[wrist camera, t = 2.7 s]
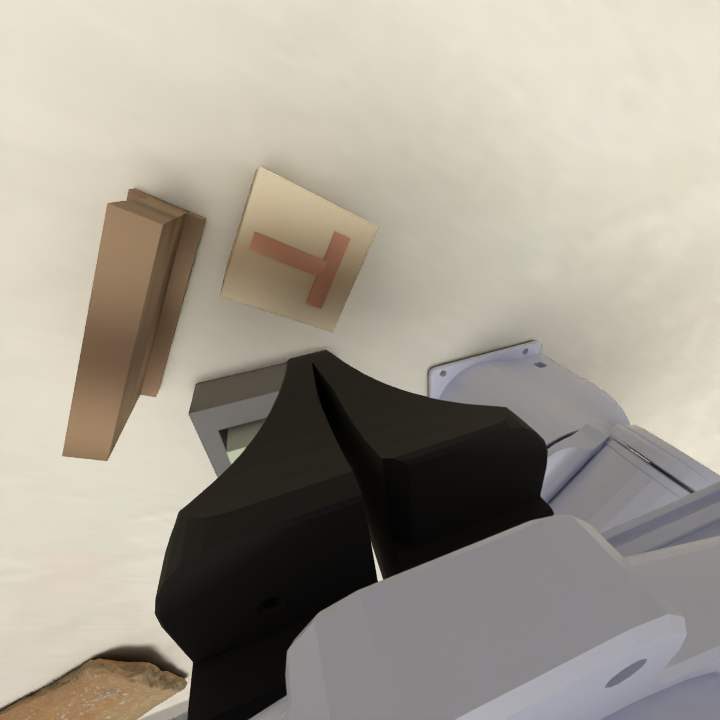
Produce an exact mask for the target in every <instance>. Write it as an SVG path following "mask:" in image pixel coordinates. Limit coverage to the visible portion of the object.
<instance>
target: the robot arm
mask: <svg viewBox="0 0 720 720" xmlns="http://www.w3.org/2000/svg"><path fill="white" fill-rule="evenodd" d="M523 350H524V351H523ZM540 352H541V343H539V342H537V341H532V342H528V343H524V344H521V345H517V346H513V347H509V348H506V349H502V350H498V351H494V352H490V353H487V354H483V355H479V356H475V357H471V358H468V359H464V360H460V361H456V362H452V363H449V364H445V365H441V366H437V367H434V368H432V369H431V370H430V372H429V397H426V396H422V395H418V394H414V393H410V392H407V391H404V390H401V389H398V388H395V387H392V386H390V385H387V384H384V383H382V382H380V381H377V380H375V379H373V378H371V377H369V376H367V375H365V374H363V373H361V372H360V371H358V370H356V369H354V368H353V367H351V366H350V365H348V364H346V363H345V362H343V361H342V360H340V359H339V358H337V357H336V356H335V355H333V354H332V353H330V352H329V351H327V350H324V351H320V352H316V353H312V354H307V355H303V356H299V357H295V358H291V359H289V360H288V362H287V366H286V372H285V376H284V379H283V382H282V385H281V388H280V391H279V393H278V396H277V398H276V400H275V402H274V404H273V406H272V409H271V411H270V413H269V414H268V416H267V418H266V420H265V421H264V423H263V425H262V426H261V428H260V429H259V431H258V432H257V434H256V435H255V437H254V438H253V439H252V441H251V442H250V443H249V445H248V446H247V447H246V448H245V450H244V451H243V452H242V453H241V454H240V456H239V457H238V458H237V459H236V460H235V461H234V462H233V463H232V464H231V465H230V466H229V467H228V468H227V469H226V470H225V471H224V472H223V473H222V474H221V475H220V476H219V477H218V478H217V479H216V480H215V481H214V482H213V483H212V484H211V485H210V486H209V487H207V488H206V489H205V490H204V491H203V492H202V493H200V494H199V495H198V496H197V497H196V498H195V499H194V500H192V501H191V502H190V503H189V504H188V505H187V506H185V507H184V508H183V509H182V510H180V511H179V513H178V516H177V519H176V522H175V525H174V528H173V531H172V533H171V536H170V539H169V542H168V546H167V549H166V552H165V557H164V561H163V566H162V571H161V575H160V580H159V585H158V590H157V594H156V600H155V615H156V617H157V619H158V621H159V623H160V625H161V626H162V628H163V629H164V630H165V631H166V632H167V633H168V634H169V636H170V637H171V638H172V639H173V640H174V641H175V642H176V643H177V645H178V646H179V647H180V648H181V649H182V650H183V651H184V653H185V654H186V655H187V656H188V657H189V658H190V659H191V660H192V662H193V669H192V678H191V688H190V697H189V707H188V711H187V712H185V713H183V714H180V715H178V716H176V717H173V718H171V719H169V720H720V475H718V474H716V473H715V472H713V471H712V470H710V469H709V468H707V467H705V466H704V465H702V464H701V463H699V462H698V461H696V460H694V459H693V458H691V457H690V456H688V455H686V454H685V453H683V452H681V451H680V450H678V449H677V448H675V447H673V446H672V445H670V444H668V443H667V442H665V441H663V440H662V439H660V438H658V437H657V436H655V435H653V434H652V433H650V432H648V431H646V430H645V429H643V428H641V427H639V426H637V425H630V423H629V420H628V418H627V416H626V414H625V413H624V411H623V410H622V408H621V407H620V406H619V404H618V403H617V402H616V401H615V400H614V399H613V398H612V397H611V396H610V395H609V394H608V393H606V392H605V391H604V390H602V389H600V388H599V387H597V386H595V385H594V384H592V383H590V382H588V381H587V380H585V379H583V378H581V377H580V376H578V375H576V374H575V373H573V372H571V371H569V370H568V369H566V368H564V367H562V366H561V365H559V364H557V363H555V362H554V361H552V360H550V359H548V358H547V357H545V356H543V355H542V354H540ZM443 370H444V372H443V373H442V374H440V373H441V372H442V371H443ZM631 449H632V450H634V451H635V452H637V453H638V454H639V455H641V456H642V457H644V458H645V459H647V460H648V461H650V462H648V461H647V460H645V459H644V458H642V457H641V456H639V455H638V454H636V453H635V452H634V451H632V450H631ZM371 543H372V546H373V549H374V552H375V555H376V558H377V562H378V565H379V568H380V571H381V574H382V577H383V580H382V581H379V582H378V580H377V574H376V569H375V563H374V557H373V552H372V546H371Z"/></svg>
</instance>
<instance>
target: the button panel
mask: <svg viewBox="0 0 720 720" xmlns="http://www.w3.org/2000/svg"><path fill="white" fill-rule="evenodd" d="M286 366H287V363H284V364H280V365H275V366H271V367H267V368H263V369H259V370H254V371H250V372H246V373H242V374H238V375H233V376H229V377H225V378H221V379H216V380H212V381H208V382H204V383H200V384H196V386H195V390H194V394H193V398H192V402H191V406H190V410H189V416H190V418H191V420H192V422H193V425H194V427H195V429H196V431H197V433H198V435H199V438H200V440H201V442H202V444H203V446H204V449H205V451H206V453H207V455H208V457H209V460H210V462H211V464H212V466H213V468H214V470H215V473H216V475H217V477H219V476H220V475H221V474H222V473H223V472H224V471H225V470H226V469H227V468H228V467H229V466H230V465H231V462H230V460H229V458H228V455H227V453H226V452H227V437H228V428H229V427H233V426H237V425H241V424H244V423H248V422H252V421H256V420H259V419H263V418H267V416H268V414H269V413H270V411H271V409H272V406H273V404H274V402H275V400H276V398H277V396H278V393H279V391H280V388H281V385H282V382H283V379H284V376H285V372H286Z"/></svg>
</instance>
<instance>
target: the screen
mask: <svg viewBox="0 0 720 720" xmlns="http://www.w3.org/2000/svg"><path fill="white" fill-rule="evenodd" d="M204 223H205V218H203V217H201V216H198V215H196V214H193V213H191V212H189V211H186V210H184V209H181V208H179V207H177V206H174V205H172V204H169V203H167V202H165V201H162V200H160V199H157V198H155V197H153V196H150V195H148V194H145V193H143V192H141V191H138V190H136V189H129V191H128V197H127V201H120V202H113V203H108V204H107V209H106V215H105V220H104V226H103V232H102V237H101V243H100V248H99V254H98V260H97V265H96V271H95V276H94V282H93V287H92V293H91V299H90V304H89V310H88V315H87V321H86V326H85V332H84V338H83V343H82V349H81V354H80V360H79V365H78V371H77V377H76V382H75V388H74V393H73V399H72V404H71V410H70V416H69V421H68V427H67V432H66V438H65V444H64V449H63V455H62V456H66V457H76V458H85V459H94V460H103V461H107V460H108V458H109V456H110V454H111V452H112V450H113V448H114V446H115V444H116V442H117V440H118V438H119V436H120V434H121V432H122V430H123V428H124V426H125V424H126V422H127V420H128V418H129V416H130V414H131V412H132V410H133V408H134V406H135V404H136V402H137V400H138V398H139V396H140V394H141V395H146V396H152V397H156V395H157V393H158V391H159V387H160V384H161V380H162V376H163V373H164V369H165V366H166V362H167V358H168V355H169V351H170V347H171V344H172V340H173V336H174V333H175V329H176V325H177V322H178V318H179V314H180V311H181V307H182V303H183V300H184V296H185V292H186V289H187V285H188V281H189V278H190V274H191V270H192V267H193V263H194V260H195V256H196V252H197V249H198V245H199V241H200V238H201V234H202V230H203V227H204Z"/></svg>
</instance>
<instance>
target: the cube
mask: <svg viewBox="0 0 720 720" xmlns="http://www.w3.org/2000/svg"><path fill="white" fill-rule="evenodd" d="M377 229H378V226H376V225H374V224H372V223H370V222H368V221H366V220H365V219H363V218H361V217H359V216H357V215H355V214H353V213H351V212H349V211H347V210H345V209H343V208H341V207H339V206H337V205H335V204H333V203H331V202H329V201H327V200H325V199H323V198H321V197H319V196H318V195H316V194H314V193H312V192H310V191H308V190H306V189H304V188H302V187H300V186H298V185H296V184H294V183H292V182H290V181H288V180H286V179H284V178H282V177H280V176H278V175H276V174H274V173H272V172H271V171H269V170H267V169H265V168H263V167H261V166H259V167H258V169H257V170H256V172H255V175H254V179H253V182H252V185H251V188H250V192H249V195H248V198H247V202H246V205H245V208H244V212H243V215H242V218H241V221H240V225H239V228H238V231H237V235H236V238H235V241H234V244H233V248H232V251H231V254H230V258H229V261H228V264H227V267H226V271H225V276H224V280H223V285H222V289H221V293H220V296H222V297H225V298H229V299H232V300H235V301H238V302H241V303H244V304H247V305H250V306H253V307H256V308H259V309H262V310H265V311H268V312H271V313H275V314H278V315H281V316H284V317H287V318H290V319H293V320H296V321H299V322H302V323H305V324H308V325H311V326H314V327H318V328H321V329H324V330H327V331H330V332H333V330H334V328H335V326H336V323H337V321H338V319H339V316H340V314H341V312H342V310H343V307H344V305H345V303H346V300H347V298H348V296H349V294H350V291H351V289H352V287H353V284H354V282H355V280H356V278H357V275H358V273H359V271H360V268H361V266H362V264H363V262H364V259H365V257H366V255H367V252H368V250H369V248H370V245H371V243H372V241H373V239H374V236H375V234H376V232H377Z"/></svg>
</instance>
